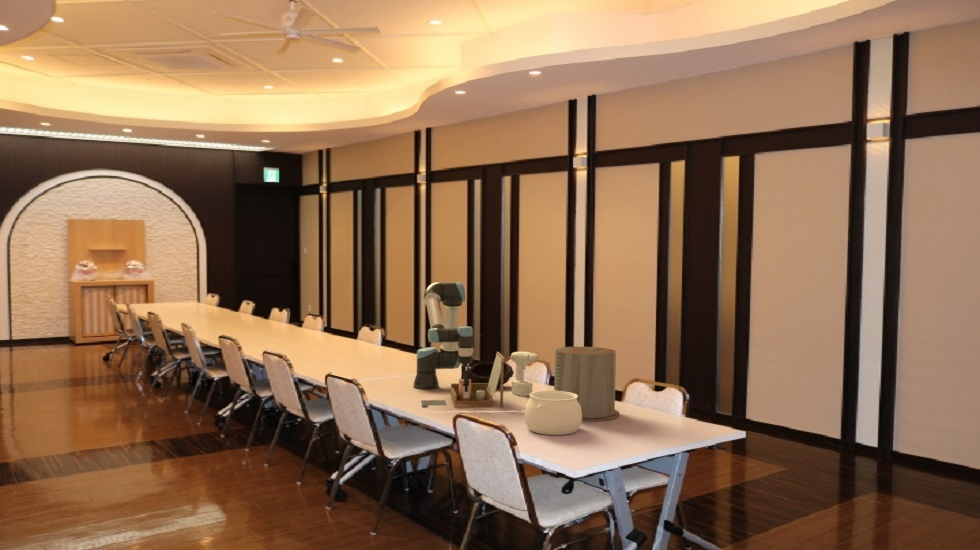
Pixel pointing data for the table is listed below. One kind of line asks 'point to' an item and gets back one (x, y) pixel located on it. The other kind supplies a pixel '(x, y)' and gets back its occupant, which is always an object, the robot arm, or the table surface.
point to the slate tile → (432, 402)
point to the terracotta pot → (461, 382)
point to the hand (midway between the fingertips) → (464, 395)
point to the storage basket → (588, 380)
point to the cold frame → (474, 388)
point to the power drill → (522, 372)
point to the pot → (553, 412)
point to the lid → (495, 373)
